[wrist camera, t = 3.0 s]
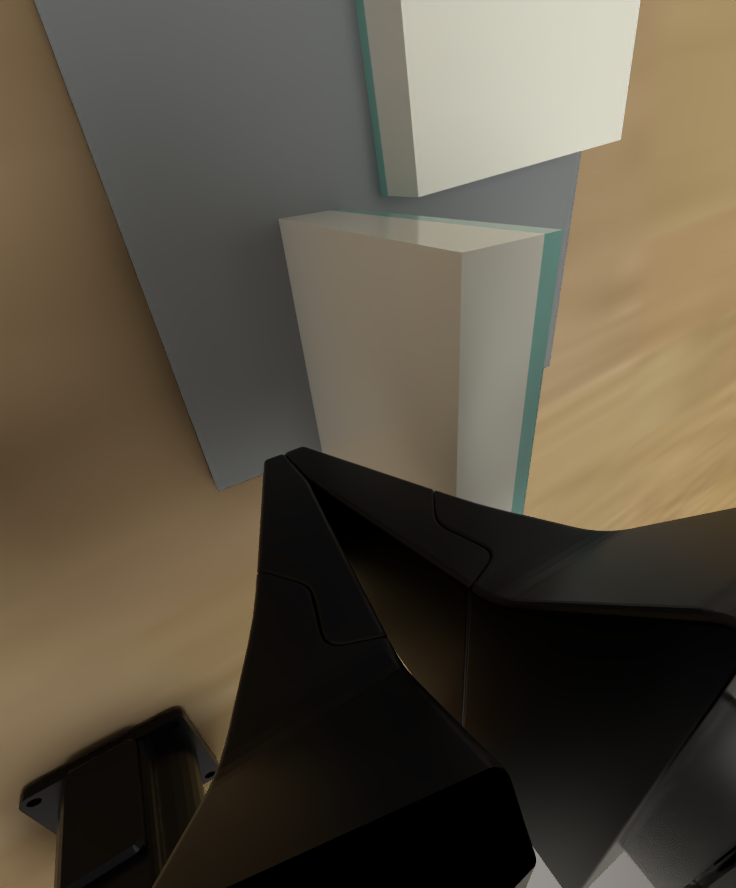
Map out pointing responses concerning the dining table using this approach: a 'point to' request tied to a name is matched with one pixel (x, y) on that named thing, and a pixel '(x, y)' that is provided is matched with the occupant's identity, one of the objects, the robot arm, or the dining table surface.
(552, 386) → the dining table surface
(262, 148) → the mat
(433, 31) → the flat tile
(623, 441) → the dining table surface
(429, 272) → the tile
